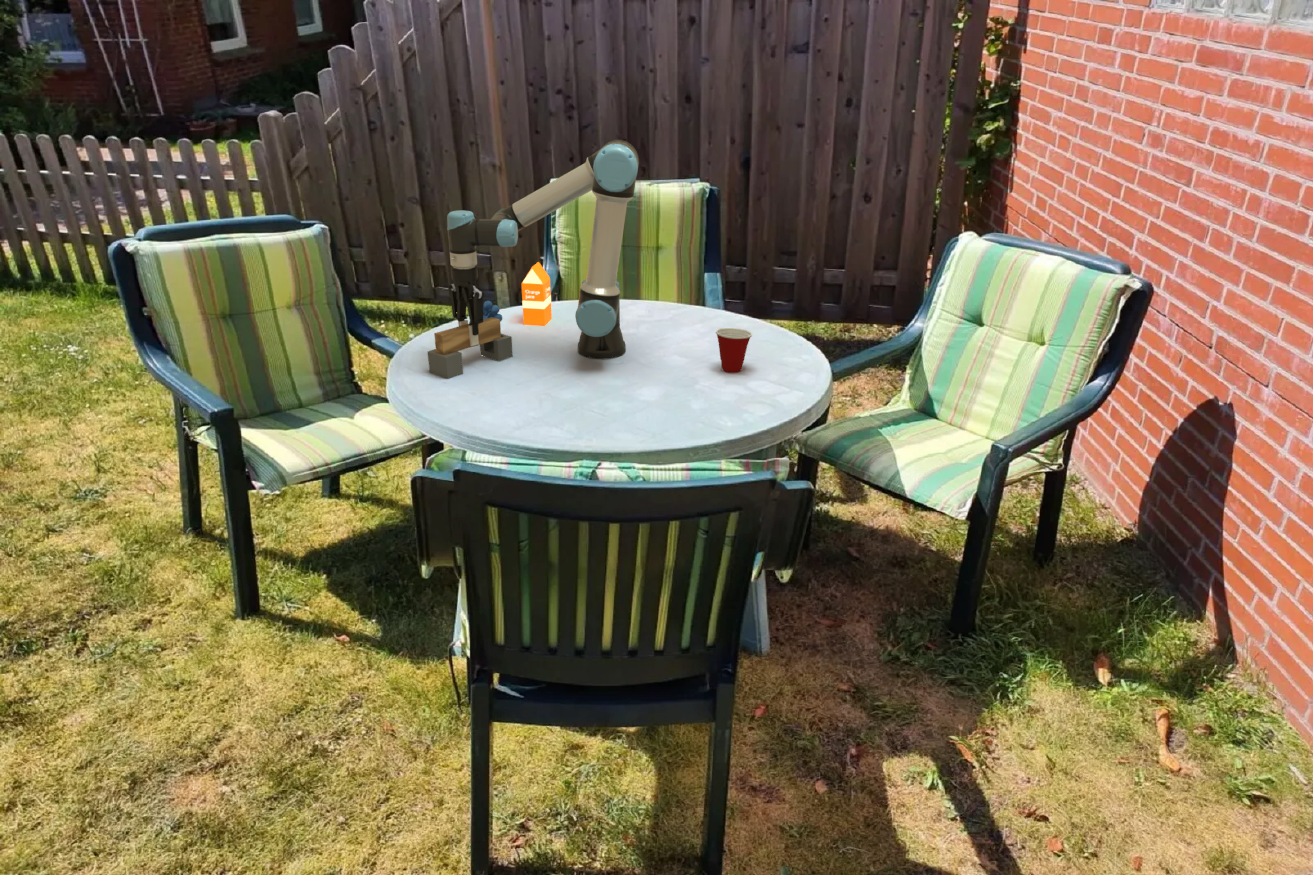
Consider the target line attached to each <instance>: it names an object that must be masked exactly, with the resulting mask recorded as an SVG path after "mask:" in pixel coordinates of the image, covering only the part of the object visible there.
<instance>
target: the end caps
mask: <svg viewBox="0 0 1313 875" xmlns="http://www.w3.org/2000/svg"><path fill="white" fill-rule="evenodd" d="M512 340H513V339H512V336H511V335H507V334H504V333H501V338H497V339H494V341H490V342H487V343H484V344H480V345H479V350H480V351H479V352H480V356H481V355H483V356H482V357H484V356H485V358H488V359H490V360H493V359H494V360H493V361H496V362H501V360H502V361H503V360H507V359H510V358H513V356H514V355H513V341H512ZM427 359H428V368H429V369H428V371H429V373H431V374H434V375H436V376H439V377H442V378H444V379H448V380H449V379H451V378H454V377H457V376H461V375H464V367H463V354H462V352H460V351H457V352H454V353H450V354H447V355H442V354H439V353H436V348H433V349H430V350H428V351H427Z"/></svg>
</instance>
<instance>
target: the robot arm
mask: <svg viewBox="0 0 1313 875" xmlns="http://www.w3.org/2000/svg"><path fill="white" fill-rule="evenodd" d="M639 167H640V158H639V154H638V152H637V150H636V148H635V147H634V146H633V145H632V144H631V143H629V142H628V141H625V140H622V139H615V140H611V141H608V142H607V143H605V144H604V145H603V146H602V147H601V148H600V149H598V150H597V151H596V152H595V153H592V154H591V155H589V156H588V157H586V161H585V162H584V163H583V164H581V165H579V166H576V167H575V168H574V169H572V170H570V171H569V172H567V173H565V174H563V175H561V176H560V177H557V178H556V179H555V180H553V181H551V182H550V183H549V182H548V183H547V184H545V185H544V186H542V187H540V188H539V189H537V190H535V191H533V192H532V193H529V194H528V195H526V196H525V197H522V198H521V199H518V201H515V202H514V203H512V204H510V205H509V206H506V208H501V209H499V210H497V211H496V212H495V213H494V215H493V216H492V218H490V219H489V218H484V219H482V218H480V219H479V218H475V216H474V212H472V211H470V210H462V209H461V210H453V211H450V212H449V213H448V214H447V218H446V220H447V221H446V222H447V223H446V224H447V228H446V229H447V237H448V246H449V249H448V250H449V258H450V266H451V267H450V275H451V277H450V278H451V280H452V281H453V283H451V284H449V285H447V288H448V291H449V296H450V304H451V311H452V312H451V313H452V318H455V319H456V320H457V321H458V327H459V326H462V325H466V324H469V322H470V324H469V337H470V346H474V345H477V346H479V345H478V344H479V340H478V334H479V329H478V324H479V323H483V304H484V300H483V299H484V295H485V292H484V291H483V290H480V289H478V286H477V283H476V282H477V280H478V279H479V273H478V271H479V270H478V267H477V265H478V258H477V247H494V248H495V247H496V248H497V247H499V248H500V247H501V248H507V247H508V248H509V247H511V248H512V247H515V246H517V244H518V240H519V239H518V238H519V231H522V230H523V229H525V228H526V227H528V226H531V225H532V224H534V223H536V222H537V221H539V220H541V219H543V218H545V217H547V216H548V215H549V214H551V213H553V212H555V211H557V210H559V209H561V208H562V207H564V206H567V205H568V204H569V203H571V202H573V201H575V200H577V199H578V198H581V197H583V196H584V195H586V194H588V193H590V192H591V191H592V194H594V196H595V198H596V202H595V209H594V218H593V223H592V224H593V225H592V234H591V241H590V248H589V250H590V251H589V258H588V265H587V273H586V279H584V280H582V282H581V285H580V286H579V288H580V289H579V296H578V306H577V309H576V311H575V313H574V314H575V317H574V318H575V323H576V325H577V326H578V329H579V330H580V331H581V332H580V336H579V339H578V342H577V353H578V355H579V356H581V357H585V358H588V359H595V360H608V359H614V358H619V357H621V356H623V355H624V354H626V352H627V351H626V350H627V349H626V347H627V346H626V344H627V343H626V342H625V340H624V336H623V333H622V330H621V320H620V318H621V315H620V314H621V311H620V308H621V306H620V294H621V288H620V282H619V281H618V280H617V279H618V271H619V265H620V257H621V251H622V244H623V235H624V230H625V228H624V227H625V221H626V215H627V206H628V203H629V202H630V201H631V200H632V199H634V196H635V188H636V183H637V182H636V181H637V176H638V171H639V170H638V169H639ZM467 313H468V316H467ZM468 317H469V318H468ZM468 319H469V320H468ZM474 347H475V346H474Z"/></svg>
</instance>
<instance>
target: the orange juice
mask: <svg viewBox="0 0 1313 875" xmlns="http://www.w3.org/2000/svg"><path fill="white" fill-rule="evenodd" d="M551 293H552V292H551V278H550V276H549V274H548V273H547V271H546V270H545V269H544V268H543V266H542V264H541V263H540V262H539V261H538V262H536V264H533V265H532V266H531V268H530V270H529V271H528V272H527V274H526V276H525V278H524V279H523V281H522V282H521V298H522V300H521V303H522V314H523V325H524V326H535V327H536V326H538V327H546V326H547V324H548V323H549V322H550V321H551V320H552V317H553V316H552V294H551Z"/></svg>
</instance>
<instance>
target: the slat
mask: <svg viewBox="0 0 1313 875" xmlns="http://www.w3.org/2000/svg"><path fill="white" fill-rule="evenodd" d="M469 324H470V323H469V322H468V324H466V325H462V326H459V325H458V326H456V327H452V328H448V329H445V330H442V331H437V332H434V345H435V349H436V353H439V354H442V355H447V354H450V353H454V352H457V351H458V352H460V351H463V350H466V349H467V350H468V349H469V348H473V347H476V346H480V344H484V343H487V342H490V341H494V339H497V338H501V334H502V331H501V322H500V319H497V318H494V317H491V318H487V319H484V320H483V323H479V324H478V329H479V334H478V340H479V344H478V345H474V346H470V337H469Z"/></svg>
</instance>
